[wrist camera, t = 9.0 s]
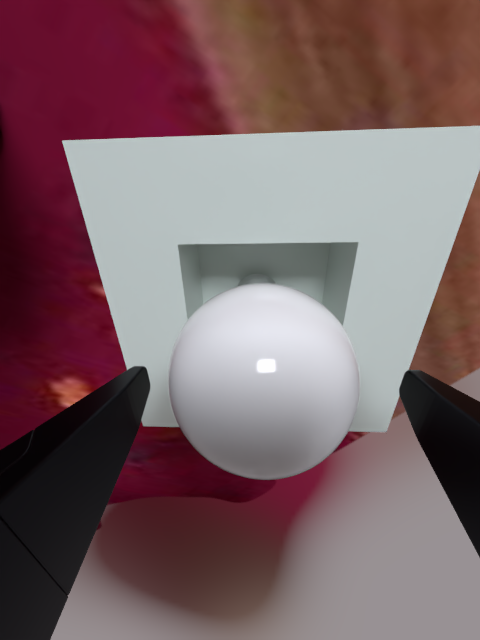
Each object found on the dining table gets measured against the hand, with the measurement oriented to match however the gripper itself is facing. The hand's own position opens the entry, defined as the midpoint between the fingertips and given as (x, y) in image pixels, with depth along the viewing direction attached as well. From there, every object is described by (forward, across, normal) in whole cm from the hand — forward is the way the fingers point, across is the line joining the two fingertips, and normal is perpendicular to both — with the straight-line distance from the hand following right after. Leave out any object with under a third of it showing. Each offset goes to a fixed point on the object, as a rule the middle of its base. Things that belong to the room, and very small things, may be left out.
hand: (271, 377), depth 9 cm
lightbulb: (+8, 0, 0) cm, 8 cm away
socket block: (+9, 0, 0) cm, 9 cm away
